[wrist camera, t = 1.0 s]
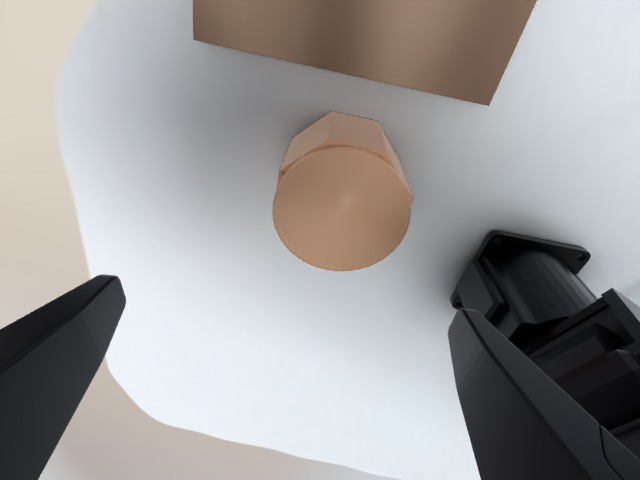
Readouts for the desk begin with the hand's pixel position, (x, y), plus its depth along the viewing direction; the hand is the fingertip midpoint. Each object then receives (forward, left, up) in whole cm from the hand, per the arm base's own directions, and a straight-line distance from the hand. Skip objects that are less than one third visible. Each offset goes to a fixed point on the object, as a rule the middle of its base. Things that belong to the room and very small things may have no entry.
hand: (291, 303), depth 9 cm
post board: (0, -10, -12) cm, 16 cm away
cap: (-1, +1, -12) cm, 12 cm away
